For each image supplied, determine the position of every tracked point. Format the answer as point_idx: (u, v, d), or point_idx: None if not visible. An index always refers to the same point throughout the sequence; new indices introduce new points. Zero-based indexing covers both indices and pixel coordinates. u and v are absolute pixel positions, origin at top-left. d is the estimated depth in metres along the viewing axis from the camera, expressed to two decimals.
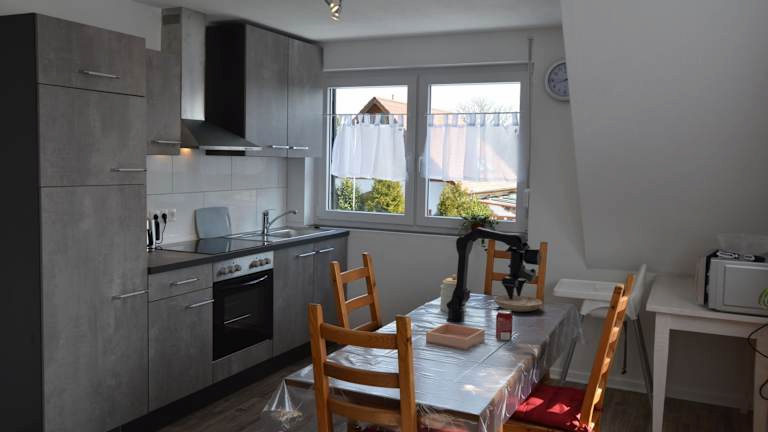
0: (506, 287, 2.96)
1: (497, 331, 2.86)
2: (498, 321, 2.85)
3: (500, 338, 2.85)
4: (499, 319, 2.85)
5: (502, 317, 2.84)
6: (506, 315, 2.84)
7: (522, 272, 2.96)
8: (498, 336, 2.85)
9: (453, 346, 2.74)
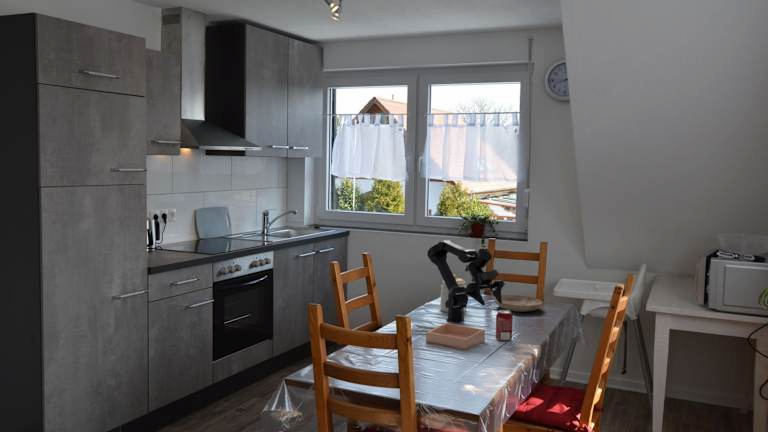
0: (473, 296, 2.94)
1: (497, 331, 2.86)
2: (498, 321, 2.85)
3: (500, 338, 2.85)
4: (499, 319, 2.85)
5: (502, 317, 2.84)
6: (506, 315, 2.84)
7: (480, 276, 2.96)
8: (498, 336, 2.85)
9: (453, 346, 2.74)
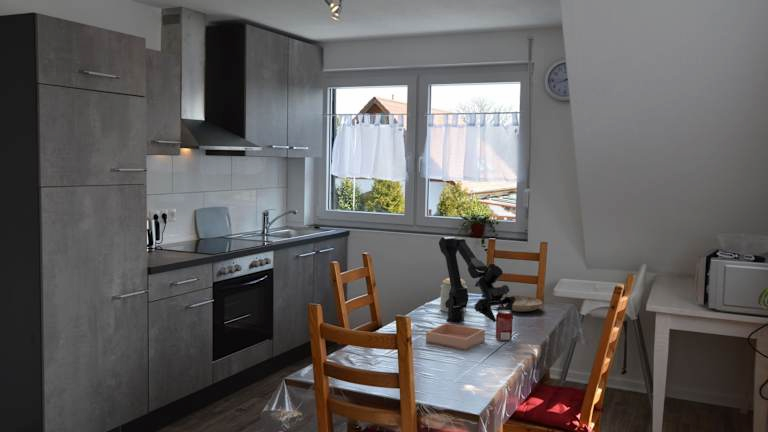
0: (484, 313, 2.88)
1: (497, 331, 2.86)
2: (498, 321, 2.85)
3: (500, 338, 2.85)
4: (499, 319, 2.85)
5: (502, 317, 2.84)
6: (506, 315, 2.84)
7: (491, 292, 2.90)
8: (498, 336, 2.85)
9: (453, 346, 2.74)
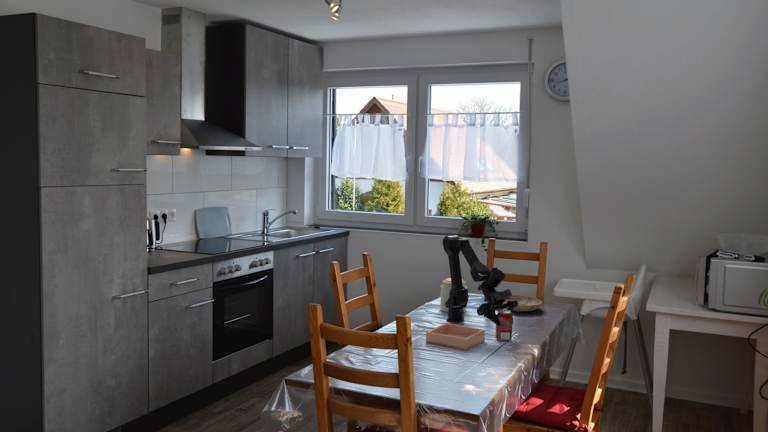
0: (488, 317, 2.88)
1: (497, 331, 2.86)
2: None
3: (500, 338, 2.85)
4: (499, 319, 2.85)
5: (502, 317, 2.84)
6: (506, 315, 2.84)
7: (493, 296, 2.89)
8: (498, 336, 2.85)
9: (453, 346, 2.74)
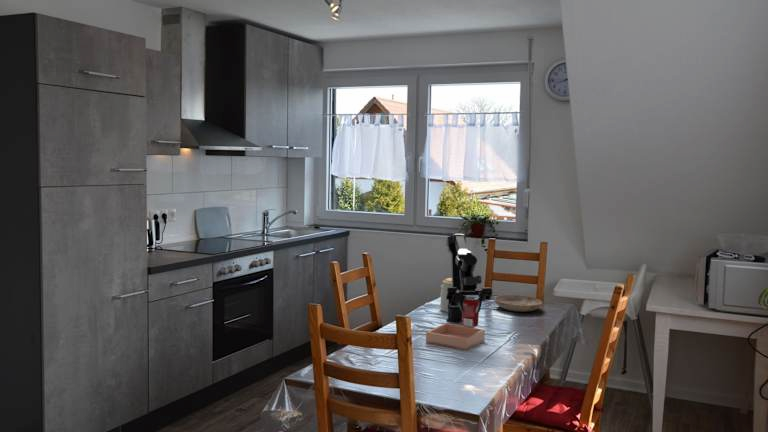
0: (456, 301, 2.85)
1: (462, 316, 2.82)
2: None
3: (463, 324, 2.81)
4: (463, 304, 2.80)
5: (465, 303, 2.79)
6: (469, 301, 2.79)
7: (463, 281, 2.85)
8: (462, 321, 2.81)
9: (453, 346, 2.74)
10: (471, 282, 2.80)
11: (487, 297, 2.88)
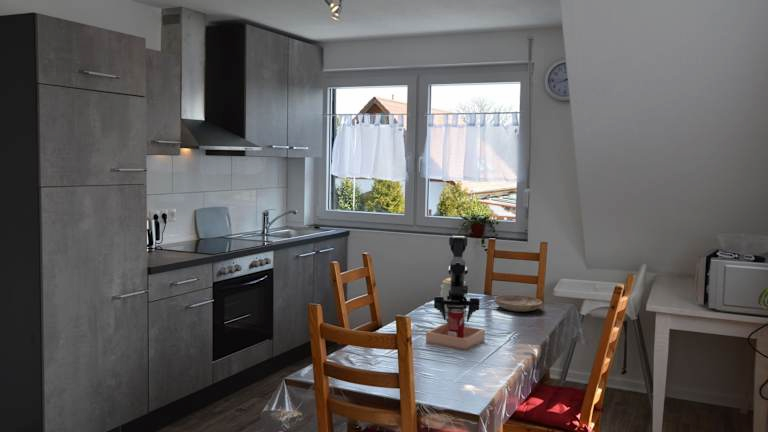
0: (441, 310, 2.86)
1: (447, 329, 2.83)
2: None
3: None
4: (448, 317, 2.82)
5: (449, 315, 2.80)
6: (453, 314, 2.80)
7: (451, 290, 2.86)
8: (447, 334, 2.82)
9: (453, 346, 2.74)
10: (456, 292, 2.80)
11: (476, 308, 2.87)
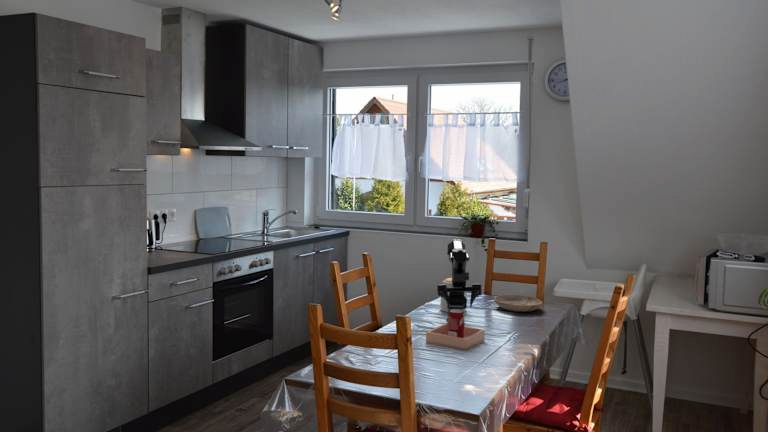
0: (444, 298, 2.95)
1: (447, 329, 2.83)
2: None
3: None
4: (448, 317, 2.82)
5: (449, 315, 2.80)
6: (453, 314, 2.80)
7: (453, 278, 2.94)
8: (447, 334, 2.82)
9: (453, 346, 2.74)
10: (458, 279, 2.89)
11: (478, 293, 2.96)
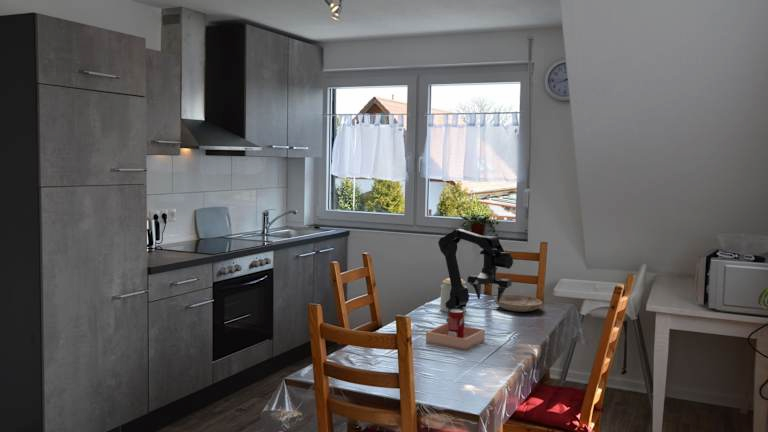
0: None
1: (447, 329, 2.83)
2: None
3: None
4: (448, 317, 2.82)
5: (449, 315, 2.80)
6: (453, 314, 2.80)
7: None
8: (447, 334, 2.82)
9: (453, 346, 2.74)
10: (481, 283, 2.95)
11: None
